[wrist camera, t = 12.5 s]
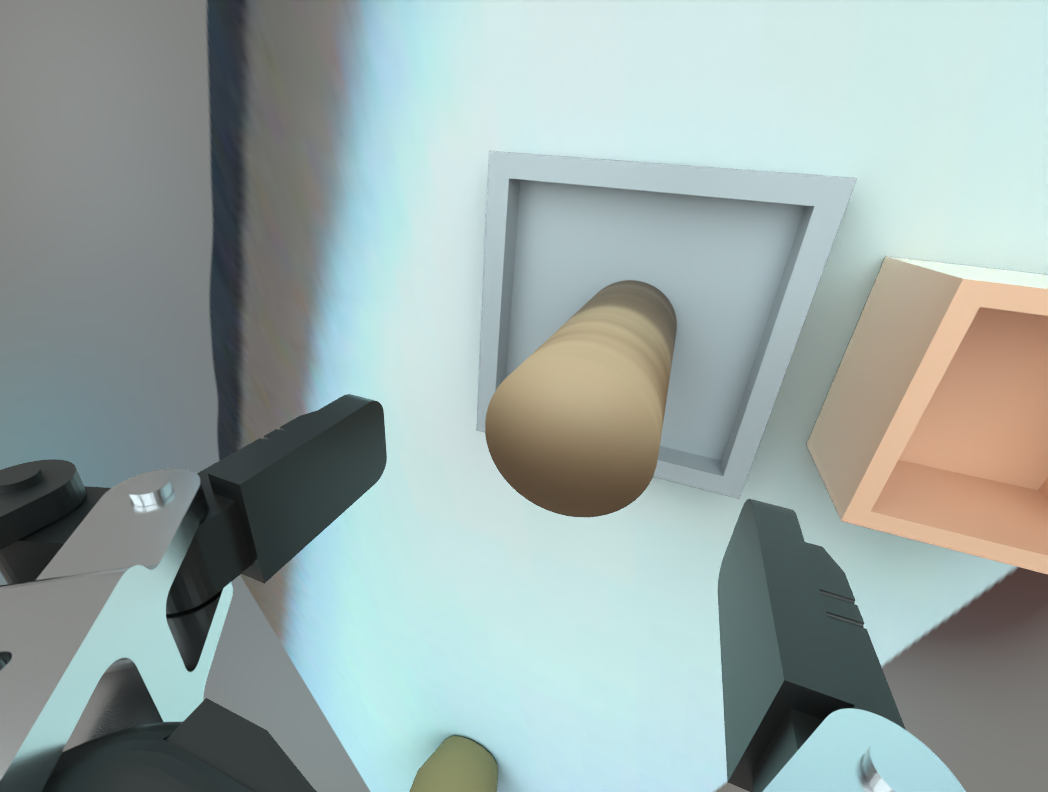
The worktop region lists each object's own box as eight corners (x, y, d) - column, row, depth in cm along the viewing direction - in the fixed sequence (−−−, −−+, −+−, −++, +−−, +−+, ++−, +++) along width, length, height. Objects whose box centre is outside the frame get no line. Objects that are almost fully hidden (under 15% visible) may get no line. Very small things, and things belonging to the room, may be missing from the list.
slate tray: (508, 155, 21) (488, 150, 19) (838, 180, 17) (857, 178, 15) (492, 413, 27) (476, 430, 25) (735, 473, 23) (739, 498, 21)
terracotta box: (885, 256, 18) (963, 278, 13) (1180, 290, 15) (1424, 334, 10) (806, 444, 22) (841, 520, 16) (1033, 494, 19) (1157, 602, 14)
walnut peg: (590, 273, 21) (489, 342, 11) (687, 287, 20) (679, 380, 10) (577, 361, 23) (481, 490, 13) (665, 379, 22) (637, 537, 12)
